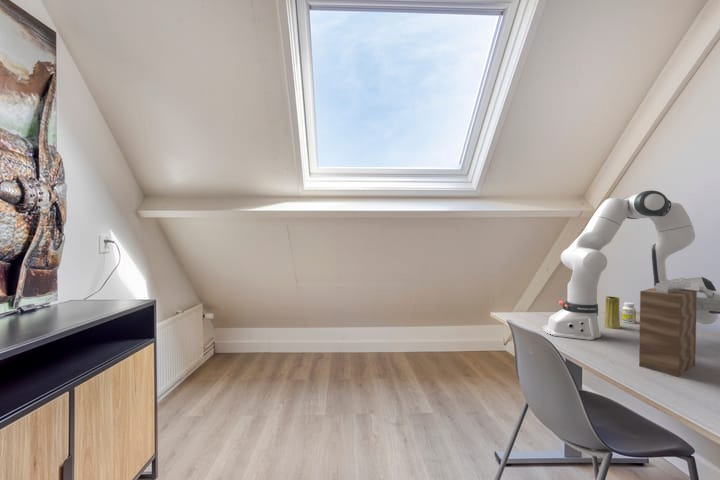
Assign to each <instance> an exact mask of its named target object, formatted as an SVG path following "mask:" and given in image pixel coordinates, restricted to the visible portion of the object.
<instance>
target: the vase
mask: <svg viewBox="0 0 720 480" xmlns="http://www.w3.org/2000/svg"><path fill="white" fill-rule="evenodd" d="M604 308H605V309H604V310H605V311H604V323H603V324H604V325H603V326H604V327H605V328H609V329H615V330H618V329H621V322H620V321H621V320H620V297H618V296H605V307H604Z"/></svg>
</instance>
